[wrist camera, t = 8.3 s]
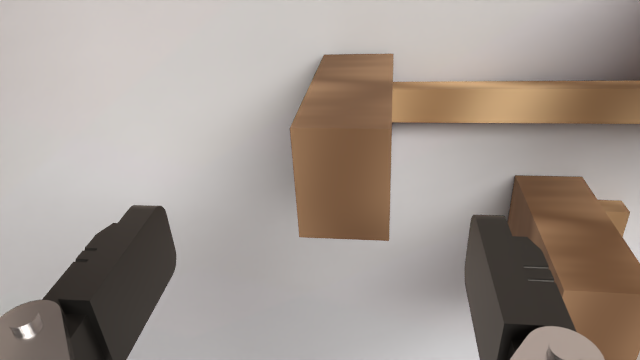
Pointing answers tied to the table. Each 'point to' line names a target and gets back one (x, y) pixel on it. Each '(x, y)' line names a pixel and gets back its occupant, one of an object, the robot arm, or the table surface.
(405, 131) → the table surface
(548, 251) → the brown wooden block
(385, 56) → the wooden mallet
